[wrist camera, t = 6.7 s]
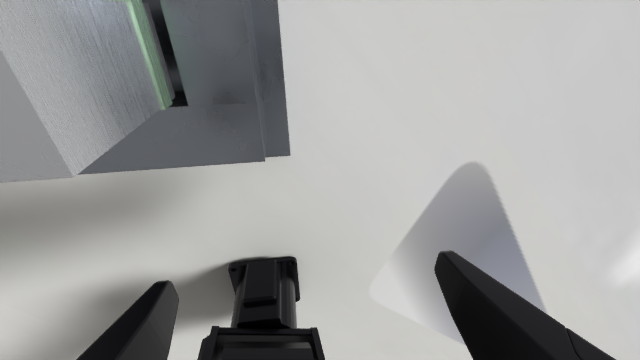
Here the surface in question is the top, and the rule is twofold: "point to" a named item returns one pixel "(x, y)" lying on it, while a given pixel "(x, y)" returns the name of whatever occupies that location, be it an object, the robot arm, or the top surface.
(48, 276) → the top surface
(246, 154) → the housing
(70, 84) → the column
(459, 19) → the top surface
